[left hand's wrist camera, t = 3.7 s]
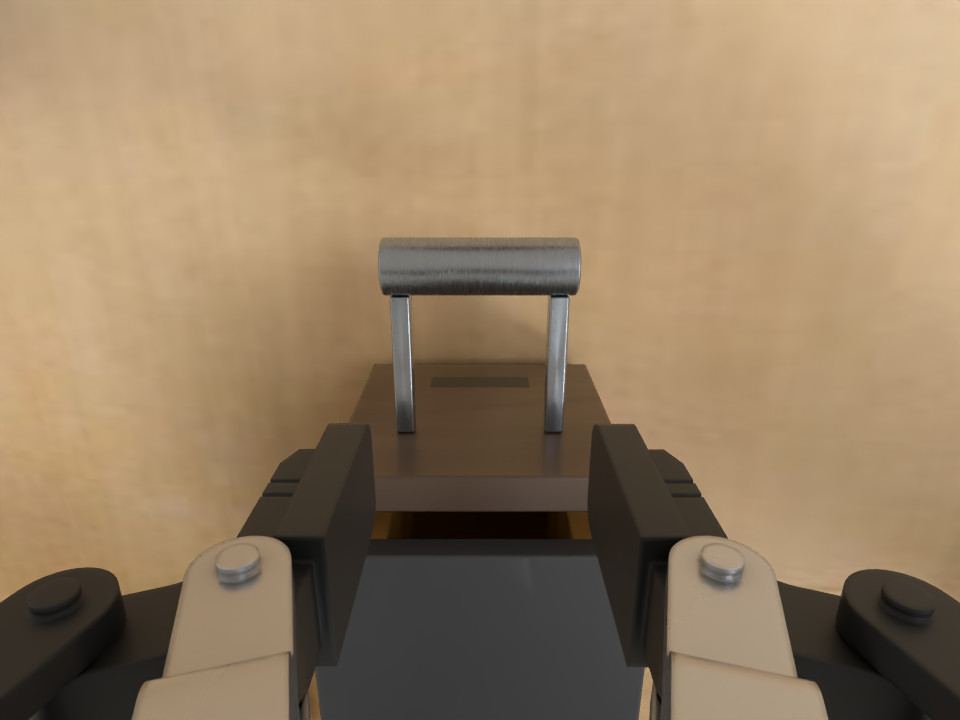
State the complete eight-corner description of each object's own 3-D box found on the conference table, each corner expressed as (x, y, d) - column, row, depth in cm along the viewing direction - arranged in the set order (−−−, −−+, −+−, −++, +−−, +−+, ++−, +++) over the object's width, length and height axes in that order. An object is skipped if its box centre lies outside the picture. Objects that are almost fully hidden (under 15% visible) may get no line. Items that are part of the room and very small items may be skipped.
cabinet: (366, 398, 28) (300, 556, 18) (593, 398, 28) (659, 556, 18) (390, 745, 35) (353, 999, 25) (569, 745, 35) (606, 999, 25)
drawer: (364, 211, 24) (302, 258, 16) (595, 211, 24) (657, 258, 16) (396, 718, 33) (367, 921, 25) (563, 718, 33) (592, 921, 25)
